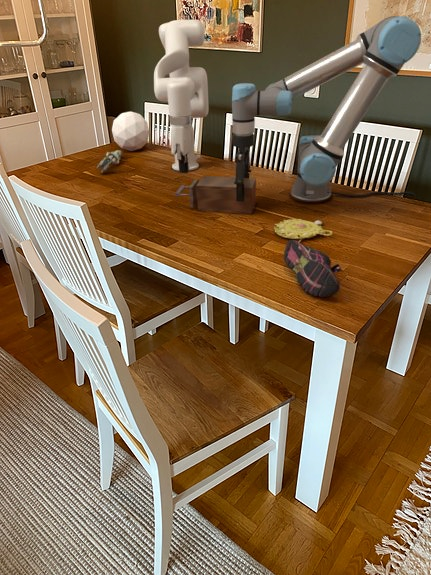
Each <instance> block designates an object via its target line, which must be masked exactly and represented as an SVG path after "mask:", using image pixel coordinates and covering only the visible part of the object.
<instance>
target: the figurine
mask: <svg viewBox="0 0 431 575" xmlns="http://www.w3.org/2000/svg"><path fill="white" fill-rule="evenodd" d="M122 153H123V152H122V150H115V151H111V152H110V151H107V152H106V153H105V155H106V156H104V157H103V158H102V159H101V161H100V162H99V163H98V165H97V167H96V169H97V170H100V173H101V174H104V173H105V172H106V171H107V170H108V169H109V168H110V167H111V166H112V165H119V164H120V160H121V158H122V157H123V154H122Z"/></svg>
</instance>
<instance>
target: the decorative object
mask: <svg viewBox="0 0 431 575" xmlns="http://www.w3.org/2000/svg"><path fill="white" fill-rule="evenodd" d="M322 225H323V221H321V220H314V222H313V221H310V220H304V219H303V218H292V219H283V221H279V223H274V227H273V229H274V233H276V234H277V236H279V237H282V238H284V239H285V238H286V239H290V240H298V242H299V243H300V242H302V240H305V239H310V238H313V237H315V236H317V235H319V236H320V235H321V236H325V237H329V236H331V235H333V231H332V230H325V229H323V227H322ZM326 233H327V234H326Z"/></svg>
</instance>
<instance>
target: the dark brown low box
mask: <svg viewBox="0 0 431 575" xmlns="http://www.w3.org/2000/svg"><path fill="white" fill-rule="evenodd" d="M235 178H236V176H233V177H232V176H214V175H213V176H211V175H203V176H202V177H201V179H200V180H199V183H198V184H197V203H196V204H197V211H198V212H210V213H224V214H225V213H226V214H242V215H252V214H253V211H254V208H255V206H256V203H257V202H256V201H257V178H254V177H249V178H244V202H242V201H236V184H234V182H235ZM238 181H241V180H238Z"/></svg>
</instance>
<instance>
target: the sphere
mask: <svg viewBox="0 0 431 575" xmlns="http://www.w3.org/2000/svg"><path fill="white" fill-rule="evenodd" d="M149 128H150V127H149V123H148V122H147V120H146V119H145V118H144V117H143V115H141V114H140V113H139V112H134V111H125V112H122V113H120V114H119V115H118V116H117V117H116V118H114V120H113V122H112V127H111V132H112V136H113V141H114V142H115V143H116V144H117V145H118V147H120V148H121V149H123V150H126V151H129V152H133V151H134V152H135V151H137V150H140V149H142V148H143V147H144V146H145V145H146V144H148V142H149V137H150V129H149Z"/></svg>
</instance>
